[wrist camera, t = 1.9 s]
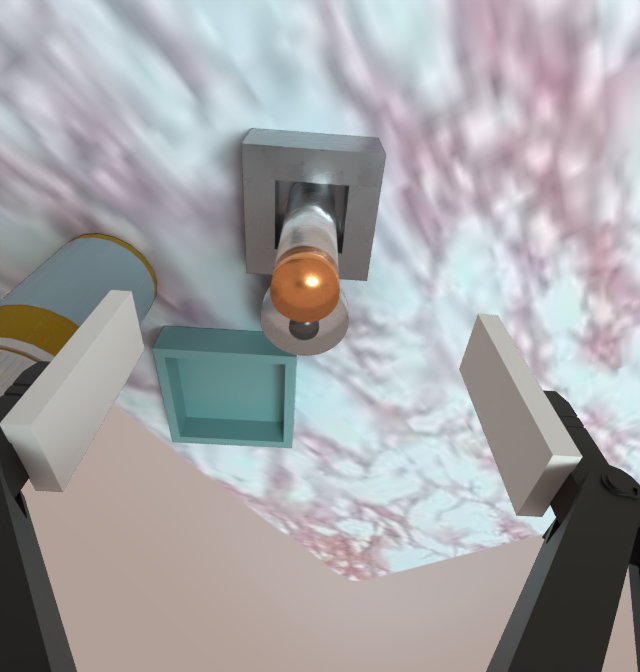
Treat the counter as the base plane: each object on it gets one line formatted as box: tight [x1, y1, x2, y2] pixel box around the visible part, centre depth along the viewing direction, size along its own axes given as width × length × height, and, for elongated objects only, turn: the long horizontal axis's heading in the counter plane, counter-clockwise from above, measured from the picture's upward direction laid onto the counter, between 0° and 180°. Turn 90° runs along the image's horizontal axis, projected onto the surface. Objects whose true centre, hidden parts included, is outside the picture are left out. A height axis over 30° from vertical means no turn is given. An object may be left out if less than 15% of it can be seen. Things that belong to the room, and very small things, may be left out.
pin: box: [270, 182, 340, 322], centre depth 23 cm, size 3×3×12 cm
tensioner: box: [241, 128, 386, 356], centre depth 28 cm, size 14×8×5 cm, turn 176°
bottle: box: [0, 234, 157, 397], centre depth 26 cm, size 7×7×15 cm
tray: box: [152, 326, 297, 448], centre depth 37 cm, size 11×11×3 cm
